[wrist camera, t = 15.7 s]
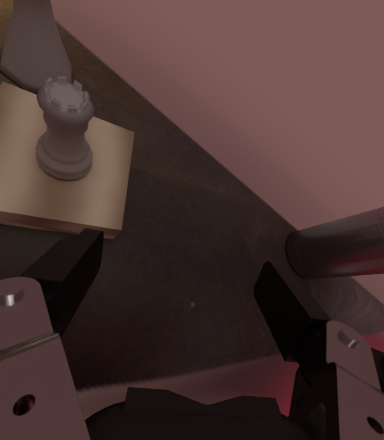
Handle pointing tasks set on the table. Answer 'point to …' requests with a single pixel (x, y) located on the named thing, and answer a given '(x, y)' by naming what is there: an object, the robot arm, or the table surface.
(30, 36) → the flask
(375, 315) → the table surface
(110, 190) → the maple plinth
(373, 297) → the table surface
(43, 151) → the rook chess piece
